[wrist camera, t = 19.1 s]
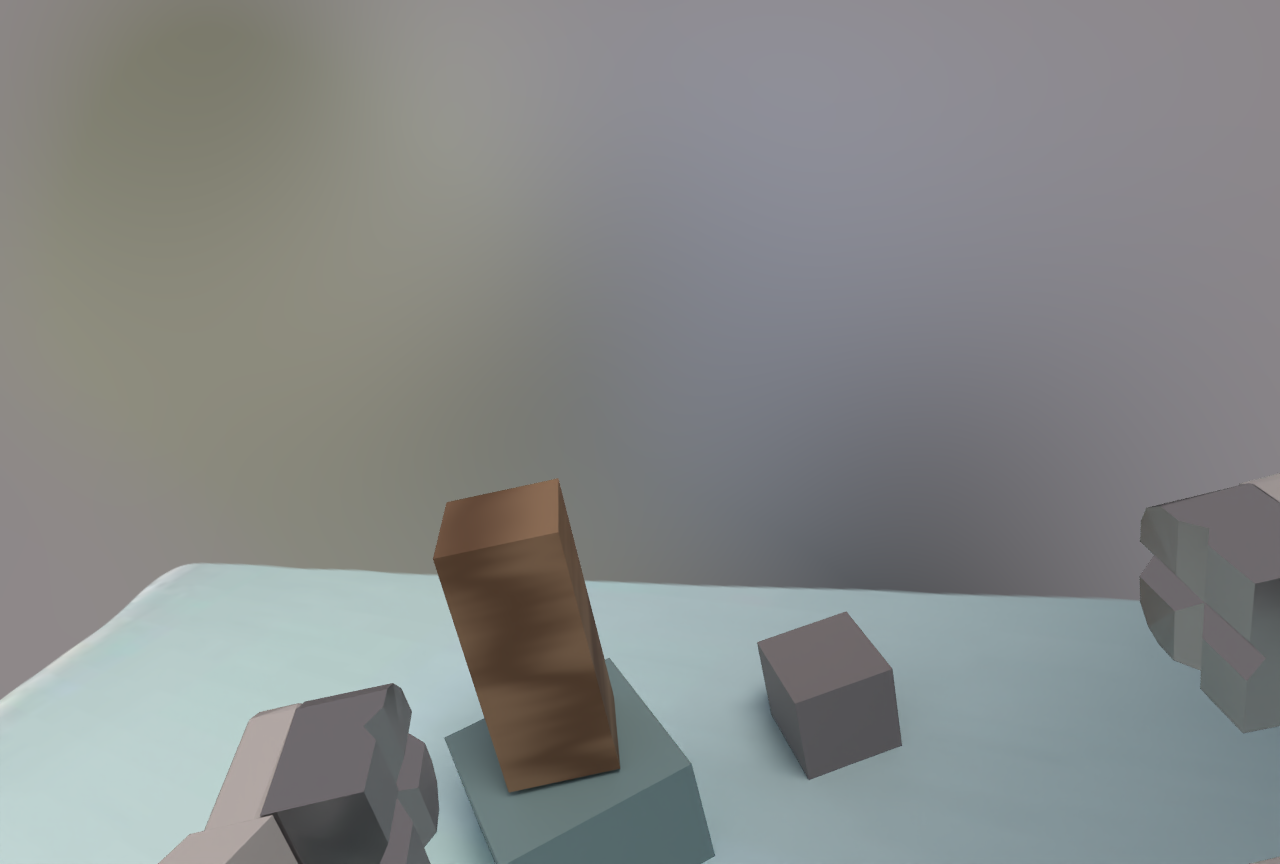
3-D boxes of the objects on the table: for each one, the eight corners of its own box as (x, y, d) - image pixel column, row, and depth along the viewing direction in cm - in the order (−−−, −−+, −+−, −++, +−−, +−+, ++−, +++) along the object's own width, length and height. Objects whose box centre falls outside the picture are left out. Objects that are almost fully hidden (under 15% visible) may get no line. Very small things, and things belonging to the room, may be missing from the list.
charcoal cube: (857, 685, 52) (846, 611, 50) (901, 746, 48) (892, 669, 45) (771, 715, 51) (757, 642, 49) (809, 781, 47) (795, 703, 45)
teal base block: (634, 744, 52) (609, 657, 49) (715, 859, 44) (691, 763, 42) (479, 824, 49) (444, 737, 47) (537, 962, 41) (500, 867, 39)
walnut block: (614, 696, 47) (558, 478, 42) (620, 768, 42) (558, 532, 37) (513, 718, 47) (446, 502, 42) (508, 792, 42) (433, 558, 37)
